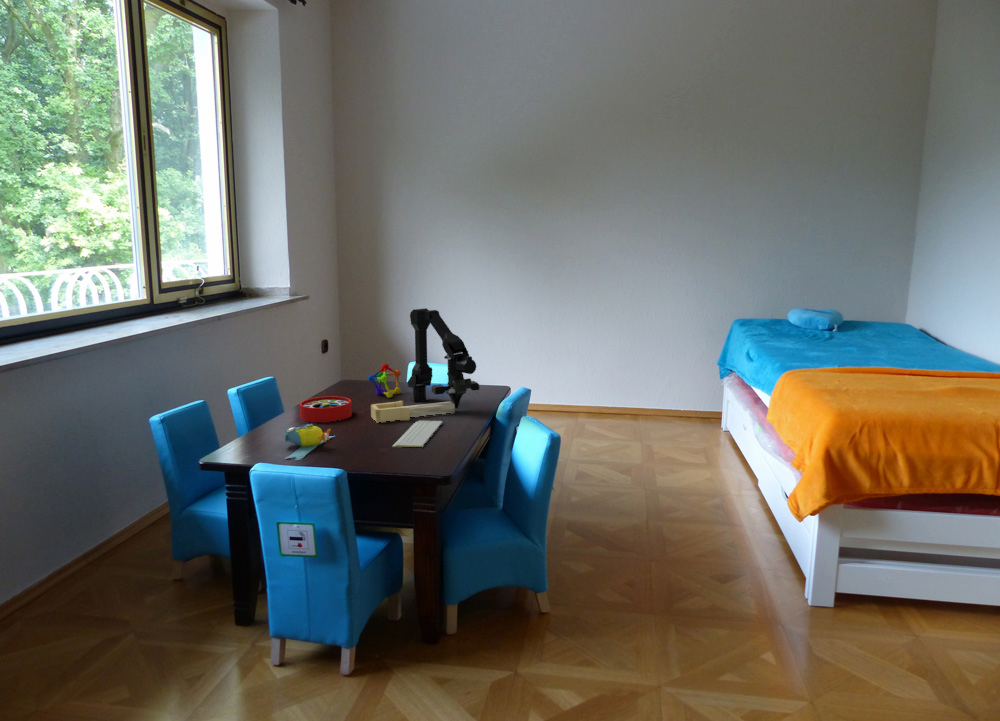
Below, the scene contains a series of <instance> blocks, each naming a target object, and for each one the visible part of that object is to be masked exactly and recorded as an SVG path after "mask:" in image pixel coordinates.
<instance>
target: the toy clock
mask: <svg viewBox="0 0 1000 721" xmlns="http://www.w3.org/2000/svg"><path fill="white" fill-rule="evenodd" d="M352 409H353V408H352V400H351V398H348V397H344V396H336V395H335V396H331V395H330V396H329V395H328V396H318V397H311V398H307V399H304V400H302V401H301V402H299V417H300V420H301V419H302V420H301V421H303V420H305V421H304V422H307V421H310V422H309V423H316V422H322V423H331V422H330V421H334V422H337V421H336V420H339V421H343V420H346V419H349V418H350V417H352V415H353V413H352V412H353V410H352ZM348 417H349V418H348ZM345 418H346V419H345ZM342 419H343V420H342Z"/></svg>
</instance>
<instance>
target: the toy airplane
mask: <svg viewBox="0 0 1000 721" xmlns="http://www.w3.org/2000/svg"><path fill="white" fill-rule="evenodd" d="M313 423H314V422H311V423H310V424H309V423H307V424H301V425H299V426H291V427H290V428H286V429H285V431H284V433H283V435H284V442H285V443H286V442H288V443H291V444H294V445H297V446H300V447H299V448H298V449H296V450H295V451H294V452H292V453H291V454H290V455H288V456H286V457H285V458H284V460H290V459H289V458H292V459H294V461H301V460H302V459H304V457H307V456H306V455H308V454H309V453H311V452H312V451H314V450H315V449H316V448H317V447H318V446H319V445H321V444H323V443H328V442H327V441H330V439H333V438H336V436H335V435H336V434H335V435H334V436H329V435H330V432H331V430H332V428H328V429H327V430H326V431H324V432H323V430H322V429H321V427H319V426H317V425H313Z"/></svg>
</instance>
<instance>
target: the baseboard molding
mask: <svg viewBox="0 0 1000 721" xmlns="http://www.w3.org/2000/svg"><path fill="white" fill-rule="evenodd" d="M415 419H416V420H418V421H414V422H415V423H414V422H413V424H411V426H410V427H409V428H408V429H407V430H406V431H405V432H404V433H403V434H402V435H401V437H400V438H398V439H397V441H396V442H394V444H393V445H392V446H391V448H402V447H422V448H423V447H424V446H425V445H426V444H427V442H428V441H429V440H430V439H431V438H432V436H433V435H434V434H435V433H436V432H437V431H438V430H439V428H440V427H441V426H440V425H443V420H422V417H415ZM419 419H420V420H419ZM425 419H432V416H425ZM439 426H440V427H439ZM435 431H436V432H435ZM434 432H435V433H434ZM433 433H434V434H433ZM430 437H431V438H430ZM429 438H430V439H429ZM425 443H426V444H425ZM424 444H425V445H424Z"/></svg>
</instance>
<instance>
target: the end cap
mask: <svg viewBox="0 0 1000 721" xmlns="http://www.w3.org/2000/svg"><path fill="white" fill-rule="evenodd" d="M403 406H404V400H398V401H397V400H396V401H392V402H382V403H372V404H370V416H371V419H373V421H374V420H375V421H376V422H375V421H374V422H375V423H376V424H379V422H381V423H387V422H386V421H390V422H396V421H395V420H400V421H410V420H411V418H410V408H409V407H403Z"/></svg>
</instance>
